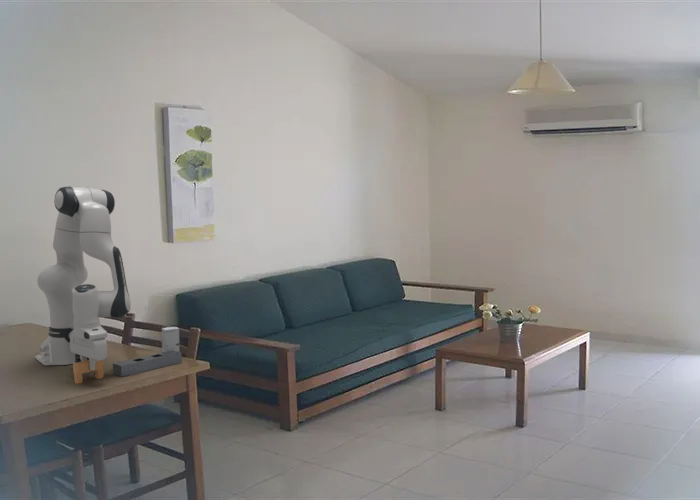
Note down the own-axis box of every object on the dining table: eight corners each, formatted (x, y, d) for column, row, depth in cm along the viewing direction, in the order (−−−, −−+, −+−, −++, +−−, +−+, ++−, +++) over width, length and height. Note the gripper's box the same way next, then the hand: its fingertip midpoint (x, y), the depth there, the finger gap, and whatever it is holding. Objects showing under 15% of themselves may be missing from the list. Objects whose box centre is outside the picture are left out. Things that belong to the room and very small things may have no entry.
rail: (113, 373, 265) (112, 363, 264) (172, 360, 284) (172, 350, 284) (121, 376, 261) (121, 366, 260) (181, 362, 280) (181, 352, 280)
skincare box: (165, 359, 285) (164, 330, 283) (161, 357, 288) (160, 328, 287) (180, 357, 288) (179, 328, 287) (176, 355, 292) (175, 326, 290)
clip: (73, 382, 254) (72, 363, 253) (99, 376, 261) (99, 357, 261) (77, 384, 252) (77, 364, 251) (104, 378, 259) (103, 359, 259)
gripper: (64, 328, 259) (66, 365, 261) (93, 336, 246) (94, 375, 247) (80, 325, 264) (82, 361, 265) (109, 333, 250) (111, 371, 252)
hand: (88, 368), depth 256 cm, fingers closed on clip, 3 cm apart
